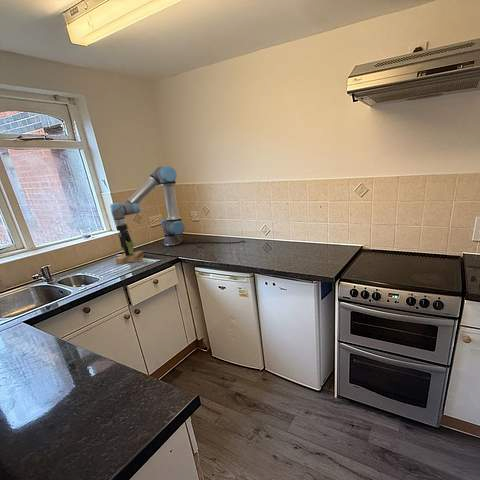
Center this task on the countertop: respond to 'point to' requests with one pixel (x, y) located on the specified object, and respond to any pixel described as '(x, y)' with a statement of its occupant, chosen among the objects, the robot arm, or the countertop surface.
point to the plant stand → (130, 257)
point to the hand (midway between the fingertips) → (129, 253)
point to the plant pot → (130, 247)
